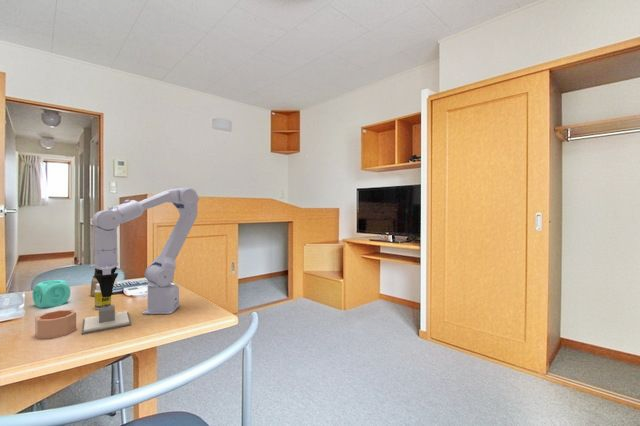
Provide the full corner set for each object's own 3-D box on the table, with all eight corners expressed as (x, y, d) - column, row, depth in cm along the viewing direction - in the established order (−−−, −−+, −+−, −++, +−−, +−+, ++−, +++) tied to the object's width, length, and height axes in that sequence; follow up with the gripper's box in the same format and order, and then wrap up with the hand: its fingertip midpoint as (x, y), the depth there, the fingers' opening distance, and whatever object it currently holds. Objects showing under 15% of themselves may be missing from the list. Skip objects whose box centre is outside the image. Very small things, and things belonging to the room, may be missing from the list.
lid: (126, 312, 104) (126, 300, 103) (129, 323, 95) (129, 310, 94) (85, 319, 97) (85, 306, 97) (83, 331, 88) (83, 317, 88)
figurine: (108, 290, 130) (107, 262, 130) (115, 293, 126) (115, 264, 126) (87, 294, 124) (87, 264, 124) (94, 298, 120) (94, 267, 120)
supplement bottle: (102, 310, 107) (102, 286, 107) (91, 309, 108) (91, 285, 108) (114, 305, 112) (114, 282, 112) (103, 304, 113) (103, 281, 113)
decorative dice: (58, 299, 118) (58, 278, 118) (70, 302, 114) (70, 281, 114) (32, 305, 111) (31, 283, 110) (44, 309, 107) (43, 286, 107)
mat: (128, 313, 104) (128, 312, 104) (131, 325, 95) (131, 323, 94) (83, 321, 97) (83, 319, 97) (81, 334, 88) (81, 332, 88)
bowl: (82, 326, 94) (82, 309, 93) (60, 338, 85) (60, 320, 85) (52, 326, 93) (52, 310, 93) (27, 338, 84) (27, 320, 84)
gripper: (90, 247, 99) (90, 289, 99) (89, 254, 87) (89, 302, 87) (117, 246, 103) (117, 286, 103) (119, 252, 91) (119, 298, 91)
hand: (106, 293), depth 96 cm, fingers open, 7 cm apart
